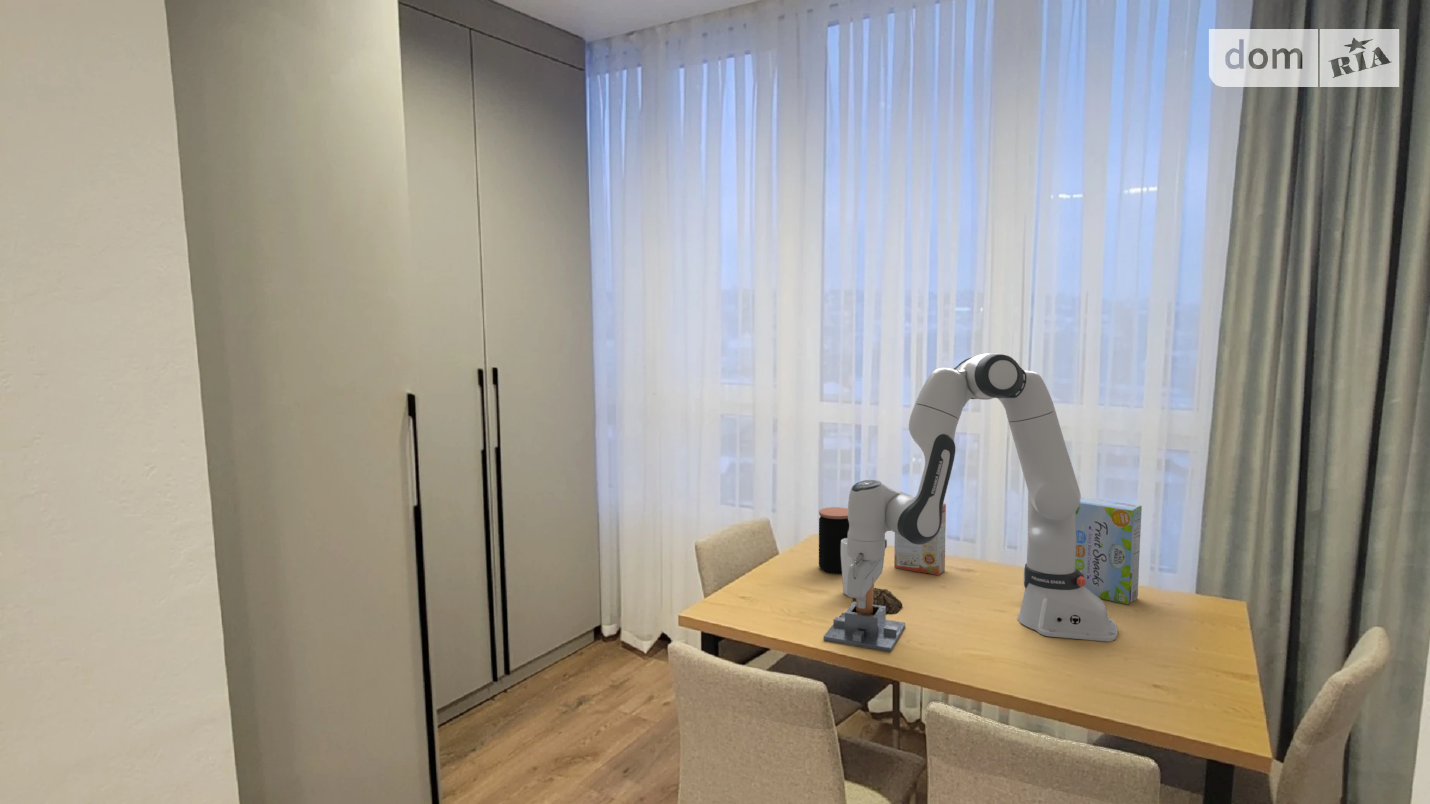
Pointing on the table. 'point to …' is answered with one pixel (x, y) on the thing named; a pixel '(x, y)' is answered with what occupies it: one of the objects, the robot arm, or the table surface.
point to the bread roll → (885, 600)
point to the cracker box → (922, 552)
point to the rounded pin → (869, 598)
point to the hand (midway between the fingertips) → (865, 603)
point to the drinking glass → (845, 564)
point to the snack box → (1109, 548)
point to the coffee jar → (832, 538)
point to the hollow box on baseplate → (865, 629)
